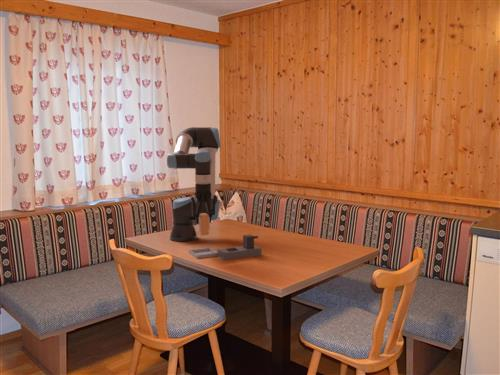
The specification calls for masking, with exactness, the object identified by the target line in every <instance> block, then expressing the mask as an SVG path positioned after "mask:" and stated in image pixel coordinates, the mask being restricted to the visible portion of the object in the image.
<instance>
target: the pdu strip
mask: <svg viewBox="0 0 500 375" xmlns="http://www.w3.org/2000/svg"><path fill="white" fill-rule="evenodd" d="M255 239H259V236H258V235H252V234H243V236H242V245H241V246H240V245H239V246H231V247H224V248H223V247H222V248H217V252H218V256H217V257H218V258H220V259H221V260H223V261H228V260H237V259H243V258H244V259H245V258H251V257H253V258H257V257H262V248H261V247H260V246H257V245H255Z"/></svg>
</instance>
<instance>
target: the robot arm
mask: <svg viewBox="0 0 500 375" xmlns="http://www.w3.org/2000/svg"><path fill="white" fill-rule="evenodd" d="M175 144H176V145H175V147H174V151H173V152H172V153H168V154H167V155H166V156H167V157H166V165H167V168H168V169H175V170H176V169H177V170H178V169H194V170H195V172H194V173H195V175H194V178H195V179H194V180H195V181H194V182H195V184H194V185H195V189H194V191H195V193H194V195H192V196H186V197H179V198H176V199H174V201H172V208H171V209H172V228H171V232H170V235H169V240H171V241H174V242H192V241H194V240H196V239H197V238H198V236H197V234H198V233H197V232H198V231H201V218H200V217H199V215H200V214H202V213H206V214H208V215H209V231H210V230H211V229H210V226H211V225H210V224H211V223H212V221H217V220H218V218H219V212H220V209H221V208H220V207H221V200H220V199H219V197H218V195H217V194H216V154H217V153H218V152H219V148H221V139H220V131H219V129H218V127H212V126H211V127H205V126H203V127H201V126H200V127H197V126H196V127H195V126H193V127H188V128H185V129H184V130H182V131H180V132H179V133H178V134H177V135H176V138H175ZM191 148H197V151H195V153H189V152H190V149H191ZM194 222H195V224H196V226H197V227H196V228H197V231H196V228H195V225H194Z"/></svg>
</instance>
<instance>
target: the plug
mask: <svg viewBox="0 0 500 375" xmlns="http://www.w3.org/2000/svg"><path fill="white" fill-rule="evenodd" d="M199 217H200V218H201V231H198V230H197V234H198V235H199V236H208V235H210V234H209V233H210V230H209V215H208V214H206V213H202V214H200V215H199Z"/></svg>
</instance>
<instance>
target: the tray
mask: <svg viewBox="0 0 500 375" xmlns="http://www.w3.org/2000/svg"><path fill="white" fill-rule="evenodd" d="M188 253H189V255H191V256H192V257H194V258H195V259H204V258H210V257H212V258H214V257H218V251H217V250H215V249H213V248H211V247H209V246H208V247H202V248H195V249H193V248H192V249H189V250H188Z"/></svg>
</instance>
